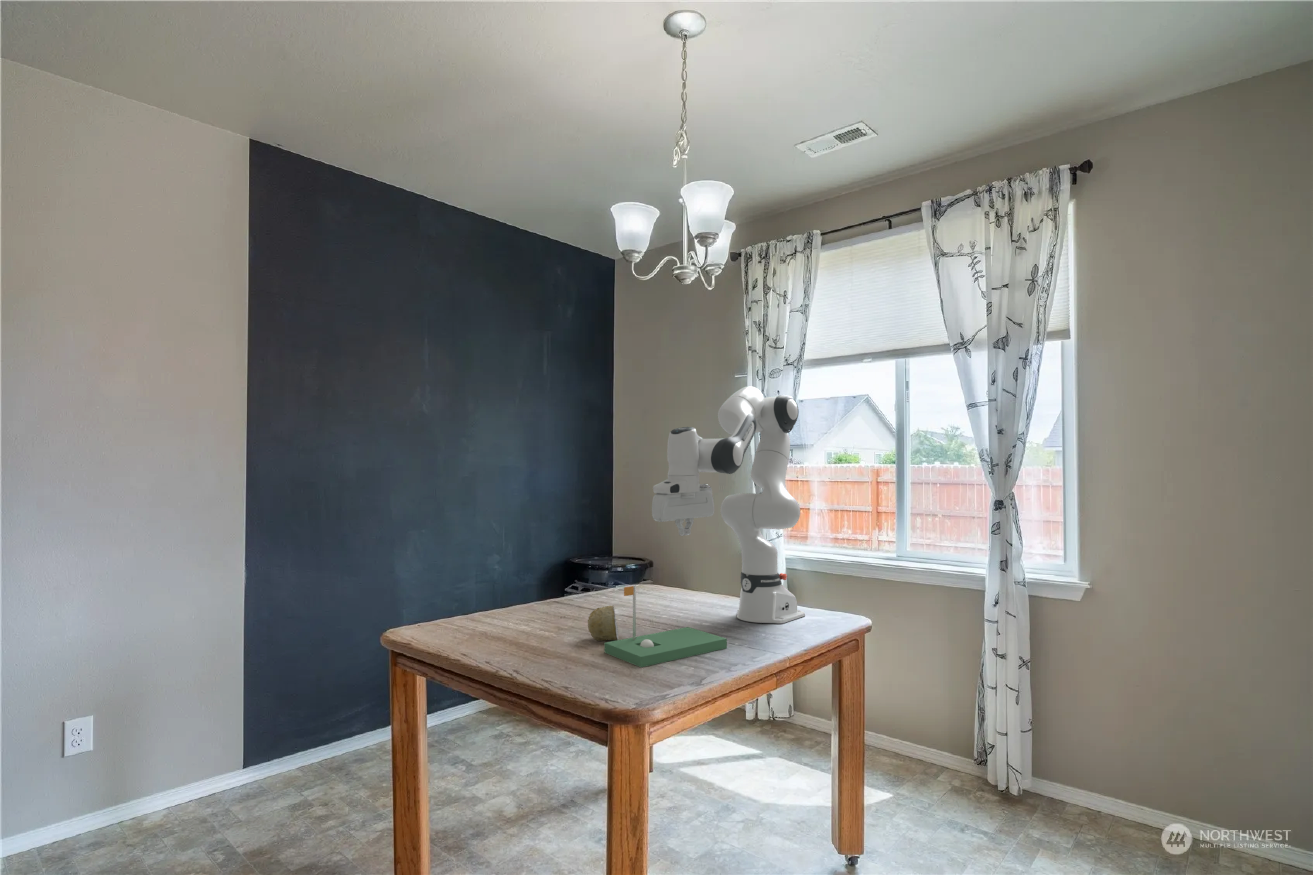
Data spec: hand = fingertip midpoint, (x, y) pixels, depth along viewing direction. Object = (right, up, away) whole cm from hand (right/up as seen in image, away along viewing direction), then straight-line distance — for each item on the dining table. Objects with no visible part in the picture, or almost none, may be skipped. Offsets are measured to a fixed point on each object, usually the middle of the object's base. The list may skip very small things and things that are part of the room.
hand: (684, 535), depth 192 cm
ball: (-10, -26, -16) cm, 32 cm away
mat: (-5, -28, -13) cm, 31 cm away
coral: (-22, -29, -2) cm, 37 cm away
